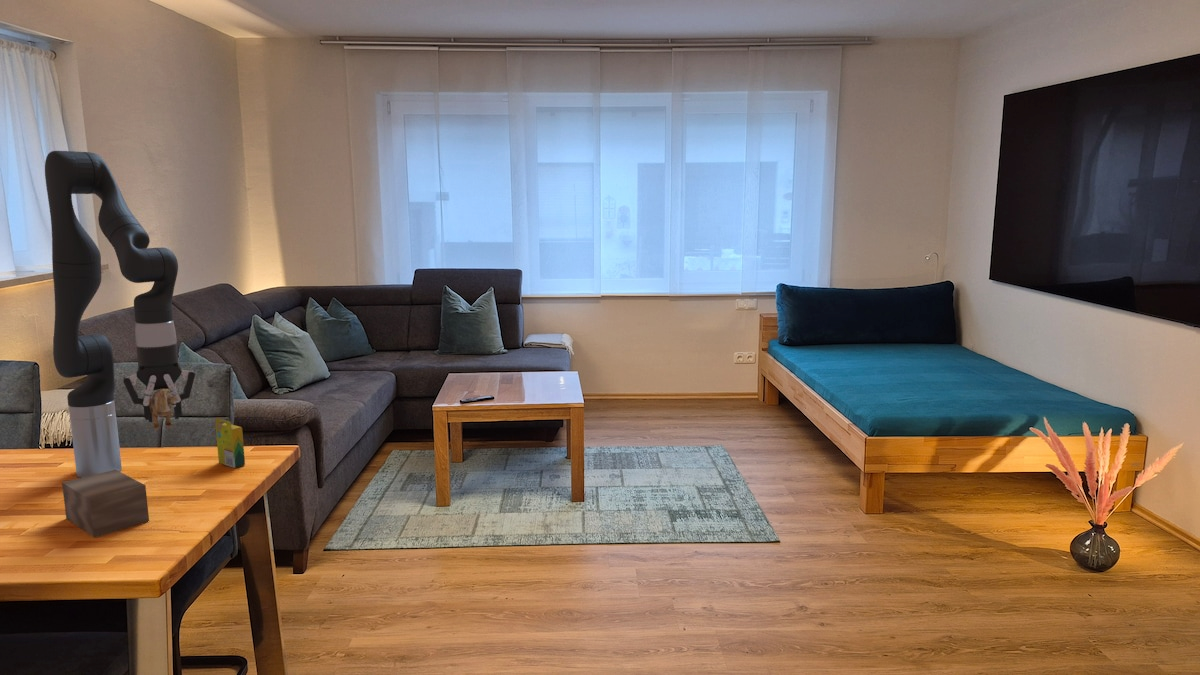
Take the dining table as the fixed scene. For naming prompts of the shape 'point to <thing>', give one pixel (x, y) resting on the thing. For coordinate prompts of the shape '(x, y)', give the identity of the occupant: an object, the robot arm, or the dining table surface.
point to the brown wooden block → (105, 502)
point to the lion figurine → (162, 407)
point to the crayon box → (229, 444)
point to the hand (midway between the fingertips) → (163, 419)
